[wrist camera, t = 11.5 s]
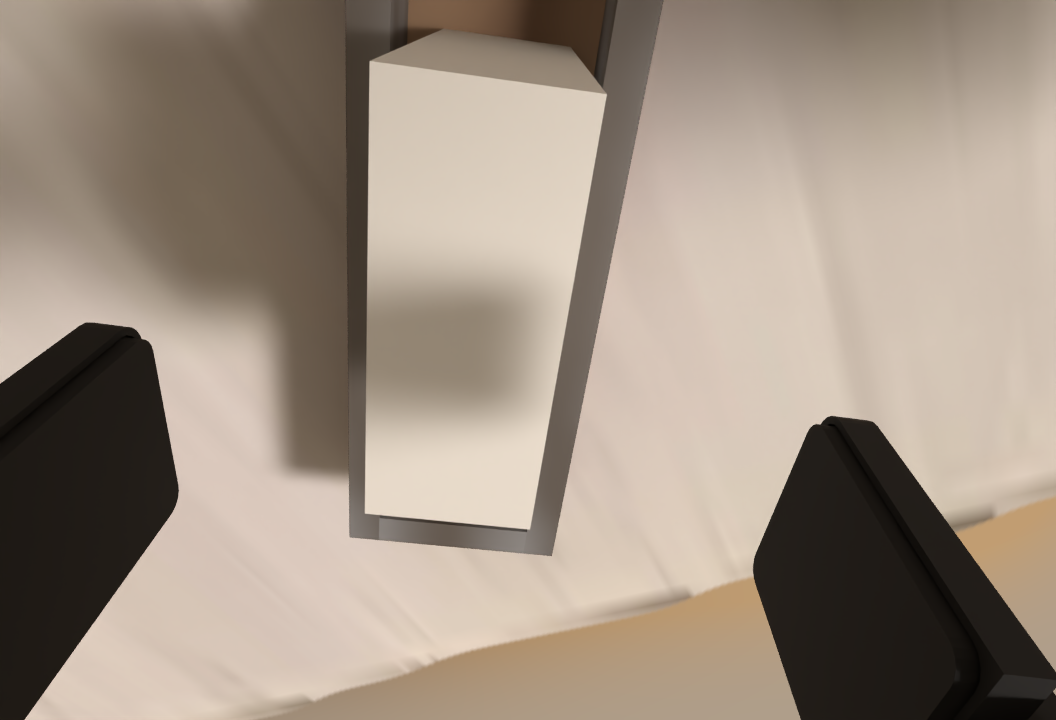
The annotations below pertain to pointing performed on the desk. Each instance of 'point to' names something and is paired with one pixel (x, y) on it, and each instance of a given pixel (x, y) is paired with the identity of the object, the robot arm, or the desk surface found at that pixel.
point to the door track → (622, 71)
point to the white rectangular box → (470, 268)
